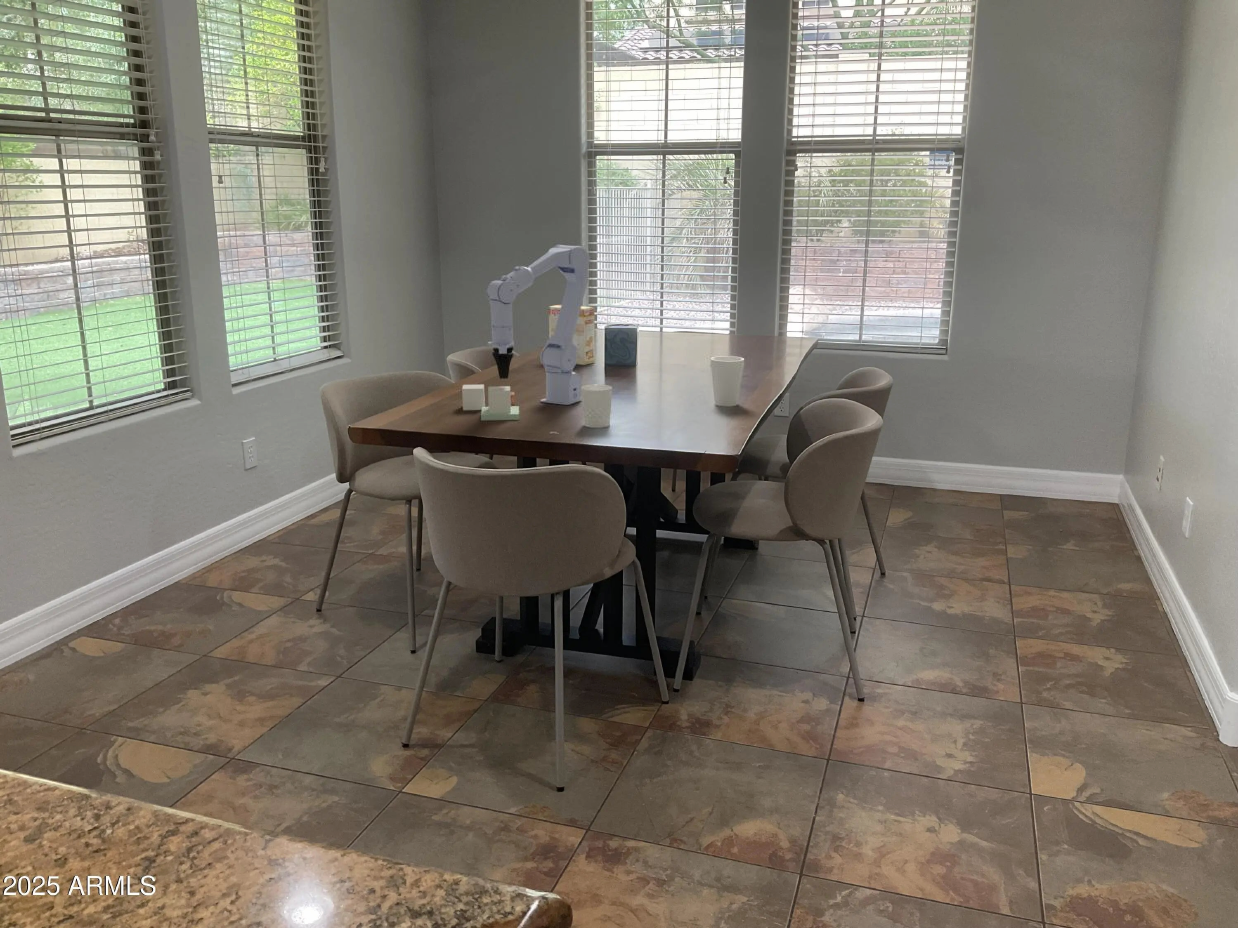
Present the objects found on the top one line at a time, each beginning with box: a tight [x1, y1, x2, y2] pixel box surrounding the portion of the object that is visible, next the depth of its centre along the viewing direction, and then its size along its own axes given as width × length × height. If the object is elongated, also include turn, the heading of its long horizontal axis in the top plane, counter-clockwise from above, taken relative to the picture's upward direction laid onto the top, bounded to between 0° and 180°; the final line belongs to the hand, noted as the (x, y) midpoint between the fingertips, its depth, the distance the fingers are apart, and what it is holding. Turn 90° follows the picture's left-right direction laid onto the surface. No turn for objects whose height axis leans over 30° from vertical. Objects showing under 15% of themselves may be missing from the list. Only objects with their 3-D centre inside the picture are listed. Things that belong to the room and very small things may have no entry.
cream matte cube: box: [487, 385, 511, 413], centre depth 268 cm, size 6×6×6 cm
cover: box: [461, 384, 486, 411], centre depth 279 cm, size 6×6×6 cm
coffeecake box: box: [548, 304, 596, 366], centre depth 350 cm, size 15×7×20 cm, turn 58°
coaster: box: [480, 405, 520, 421], centre depth 269 cm, size 10×10×2 cm
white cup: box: [580, 383, 613, 429], centre depth 258 cm, size 8×8×10 cm
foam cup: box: [709, 355, 745, 407], centre depth 283 cm, size 10×9×13 cm
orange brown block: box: [510, 391, 516, 406], centre depth 280 cm, size 4×4×4 cm
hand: (503, 375), depth 273 cm, fingers open, 7 cm apart
